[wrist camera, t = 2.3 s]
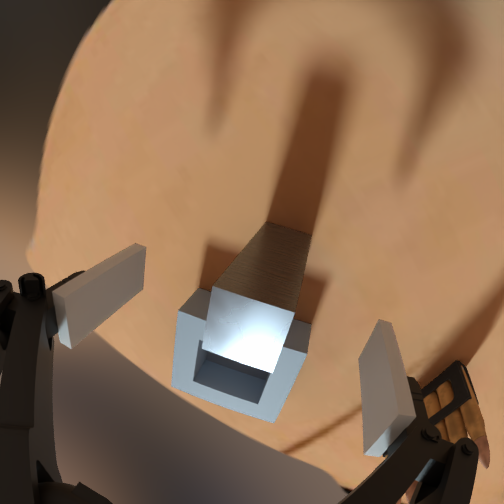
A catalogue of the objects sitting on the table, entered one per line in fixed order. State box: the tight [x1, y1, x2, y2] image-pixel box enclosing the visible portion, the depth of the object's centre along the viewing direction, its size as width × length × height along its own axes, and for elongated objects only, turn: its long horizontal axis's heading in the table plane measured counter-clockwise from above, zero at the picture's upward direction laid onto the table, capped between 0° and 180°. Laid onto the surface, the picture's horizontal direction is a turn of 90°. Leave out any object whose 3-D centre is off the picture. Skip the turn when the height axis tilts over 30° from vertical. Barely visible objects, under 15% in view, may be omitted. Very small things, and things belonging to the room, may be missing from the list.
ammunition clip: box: [383, 361, 490, 504], centre depth 19 cm, size 11×2×12 cm, turn 147°
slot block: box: [171, 288, 312, 423], centre depth 25 cm, size 9×10×4 cm
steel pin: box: [202, 222, 312, 373], centre depth 18 cm, size 4×4×11 cm
